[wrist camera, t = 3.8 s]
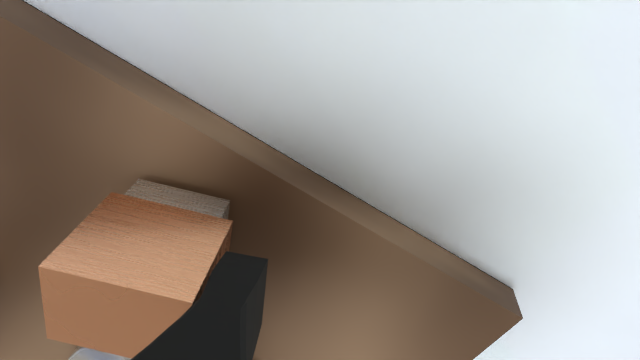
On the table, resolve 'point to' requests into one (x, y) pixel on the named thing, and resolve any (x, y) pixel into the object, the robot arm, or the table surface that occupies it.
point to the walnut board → (245, 211)
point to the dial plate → (132, 269)
